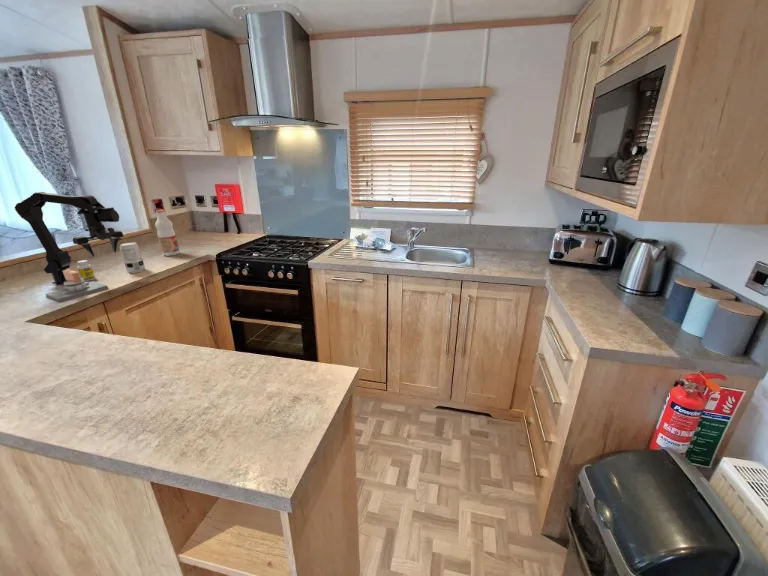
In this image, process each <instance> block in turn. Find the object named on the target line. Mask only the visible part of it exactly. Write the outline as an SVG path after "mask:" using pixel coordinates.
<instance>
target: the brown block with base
mask: <svg viewBox="0 0 768 576" xmlns="http://www.w3.org/2000/svg"><path fill="white" fill-rule="evenodd" d="M63 274H64V276H65V279H66V280H68V281H65V282H64V284H63V286H64V287H62V288H61V289H62V290H63V291H64V292H65V291H67V292H74V291H79V290H83V289H85V288H87V286H88V285H89V283H88V282H89V281H84V279H83V278H81V277H80V274H79V271H75V270H72V269H70V268H67V269H66V270H63ZM76 284H79V285H76ZM71 285H75V286H71Z"/></svg>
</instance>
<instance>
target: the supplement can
mask: <svg viewBox="0 0 768 576" xmlns="http://www.w3.org/2000/svg"><path fill="white" fill-rule="evenodd" d="M119 251H120V252H121V253H120V254H121V256H122V260H123V263H124V266H125V269H126V270H125V271H126V272H127V273H130V274H134V273H140V272H143V271H145V269H146V267H145V264H144V260H143V257H142V253H141V251H140V247H139V245H138V244H137V242H125V243H121V244H120V245H119Z"/></svg>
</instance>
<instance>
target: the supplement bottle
mask: <svg viewBox="0 0 768 576" xmlns="http://www.w3.org/2000/svg"><path fill="white" fill-rule="evenodd" d="M76 262H77V267H76V268H77V272H78V273H79V276H80V278H83V279H84V282H91V281H93V280H95V279H96V276H95V273H94V270H93V267H92V265H91V264H89V260H87V259H83V260H78V261H76Z"/></svg>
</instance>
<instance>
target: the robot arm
mask: <svg viewBox="0 0 768 576" xmlns="http://www.w3.org/2000/svg"><path fill="white" fill-rule="evenodd" d="M46 203H53V204H61V205H69V206H72V207H74V208H77V209H79V210H78V212H77V215H83V217H84V221H85V223H86V224H85V226H86V228H87V229H88V232H89V234H88V235H89V236H84V235H82V236H81V235H80V236H75V237H73V238H72V242H73V244H75V245H78V246H82V248H84V249H85V250H86V251H87V253H89V255H91V257H93V258H94V257H95V253H94V251H93V249H92V247H91V243H90V242H91V241H95V240H96V241H97V240H100V241H104V240H109V242H110V244H111V248H112V250H113V252H114V253H117V246H118V242H119V241H120V240H121V239H122V238H123V237H125V236H124V233H123V232H122V231H120V230H115V229H114V227H108V228H106V227H105V225H104V224H103V223H117V222H119V221H120V214H119V213H118V211H117V210H115V208H114V207H113V206H112V207H105V206H104V205H102V204H101V202H99V200H98V199H97V198H96V197H95V196H93V195H88V194H87V195H68V194H58V193H51V192H44V191H40V192H39V191H38V192H34V193H32V195H30V196H29V197H27V198H24V200H22V201H20V202H18V203H16V204H15V206H14V211H16V213H17V214H18V215H19V217H20V218H21V219H23V220H24V221H26V223H28V224H29V225H30V227H31V229H32V230H33V232H34V233H35V235H36V237H37V239H38V241H39V242H40V244H41V245H42V247H43V249H44V251H45V259H46V263H47V265H45V268H44V269H43V271H44V272H45V273H46V274H51V276H52V279H53V281H52V282H51V283H52V284H54V285H57V286H60V285H62V284H63V285H64V282H65V281H68V280H66V279H65V276H64V274H63V270H67V269H70V268H71V266H70V265H71V263H72V257H71V256H70V255H69V252H68V251H67V250H62V249H61V248H60V247H59V245H58V244H57V242H56V241H55V239H54V237H53V235H52V233H51V232H50V230H49V228H48V227H47V225H46V223H45V221H44V219H43V218H44V212H43V210H42V208H43V207H44V206H45V205H46Z"/></svg>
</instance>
